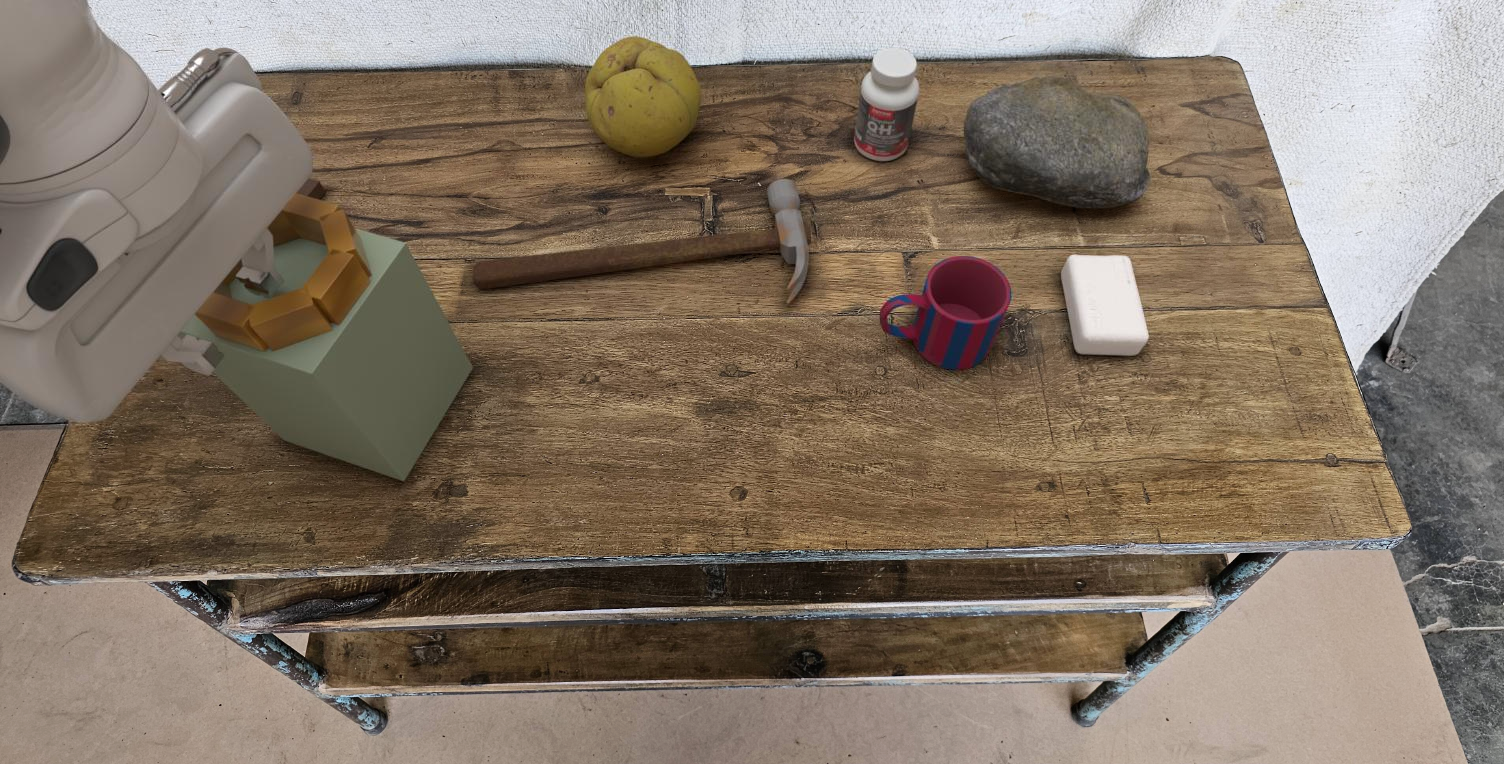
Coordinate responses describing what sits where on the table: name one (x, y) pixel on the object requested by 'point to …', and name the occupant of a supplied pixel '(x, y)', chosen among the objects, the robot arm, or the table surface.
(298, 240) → the pedestal
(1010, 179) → the stone
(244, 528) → the table surface
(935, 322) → the cup
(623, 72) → the fruit
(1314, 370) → the table surface
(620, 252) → the hammer
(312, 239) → the ring
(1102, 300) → the soap
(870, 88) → the pill bottle
